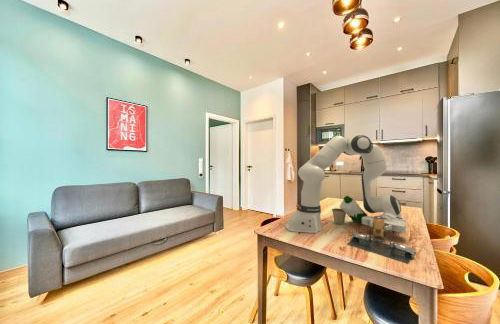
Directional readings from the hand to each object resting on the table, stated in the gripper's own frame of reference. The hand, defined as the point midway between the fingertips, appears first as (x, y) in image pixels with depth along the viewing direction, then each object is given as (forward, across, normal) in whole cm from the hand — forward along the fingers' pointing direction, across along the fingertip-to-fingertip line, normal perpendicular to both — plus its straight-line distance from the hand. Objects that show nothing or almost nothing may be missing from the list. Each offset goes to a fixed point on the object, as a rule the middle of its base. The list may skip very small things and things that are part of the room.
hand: (378, 226), depth 102 cm
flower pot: (-13, -27, +7) cm, 30 cm away
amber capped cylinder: (-1, 0, +7) cm, 7 cm away
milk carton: (-24, -18, +4) cm, 30 cm away
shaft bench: (+10, +4, +7) cm, 13 cm away
